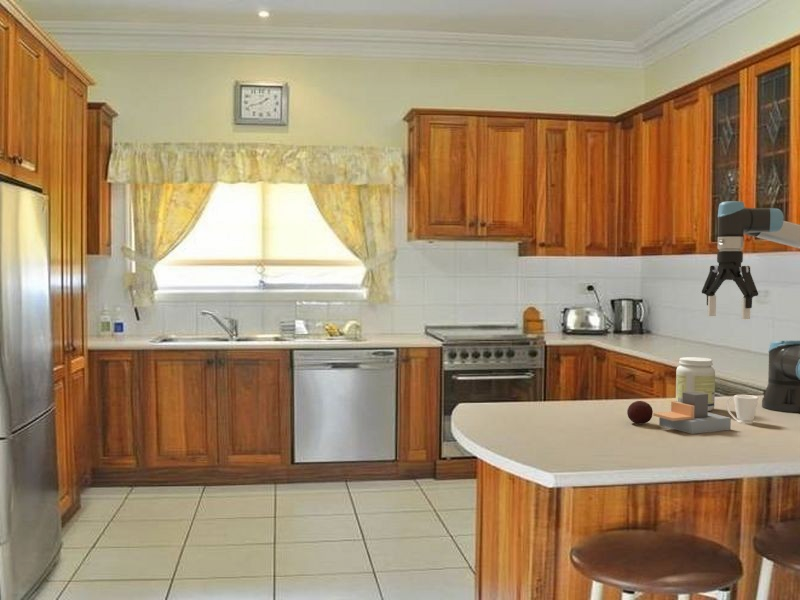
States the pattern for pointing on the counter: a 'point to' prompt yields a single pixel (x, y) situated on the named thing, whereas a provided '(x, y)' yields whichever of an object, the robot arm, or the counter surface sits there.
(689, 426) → the socket block
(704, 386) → the supplement tub
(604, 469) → the counter surface
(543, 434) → the counter surface
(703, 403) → the plug
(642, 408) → the dark brown ball
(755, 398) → the cup
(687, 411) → the orange l-shaped bracket
